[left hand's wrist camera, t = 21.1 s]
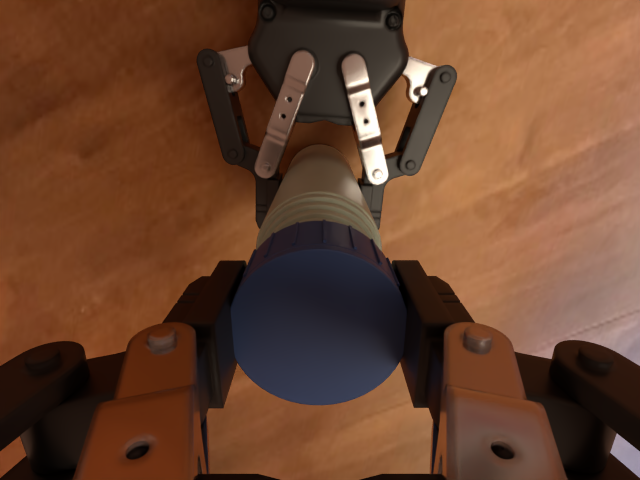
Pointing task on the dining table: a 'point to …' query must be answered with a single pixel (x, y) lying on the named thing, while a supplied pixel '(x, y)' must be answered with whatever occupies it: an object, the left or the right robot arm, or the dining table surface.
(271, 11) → the right robot arm
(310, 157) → the bottle
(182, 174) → the dining table surface
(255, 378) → the cap
